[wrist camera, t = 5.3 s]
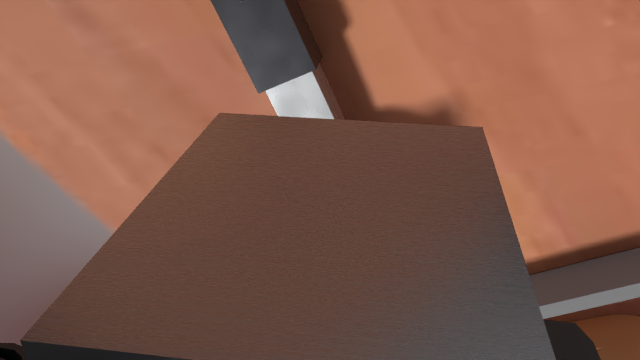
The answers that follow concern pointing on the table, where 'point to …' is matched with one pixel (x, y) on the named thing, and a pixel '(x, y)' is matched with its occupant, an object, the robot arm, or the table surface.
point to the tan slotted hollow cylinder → (614, 335)
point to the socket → (309, 253)
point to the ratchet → (280, 55)
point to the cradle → (588, 284)
